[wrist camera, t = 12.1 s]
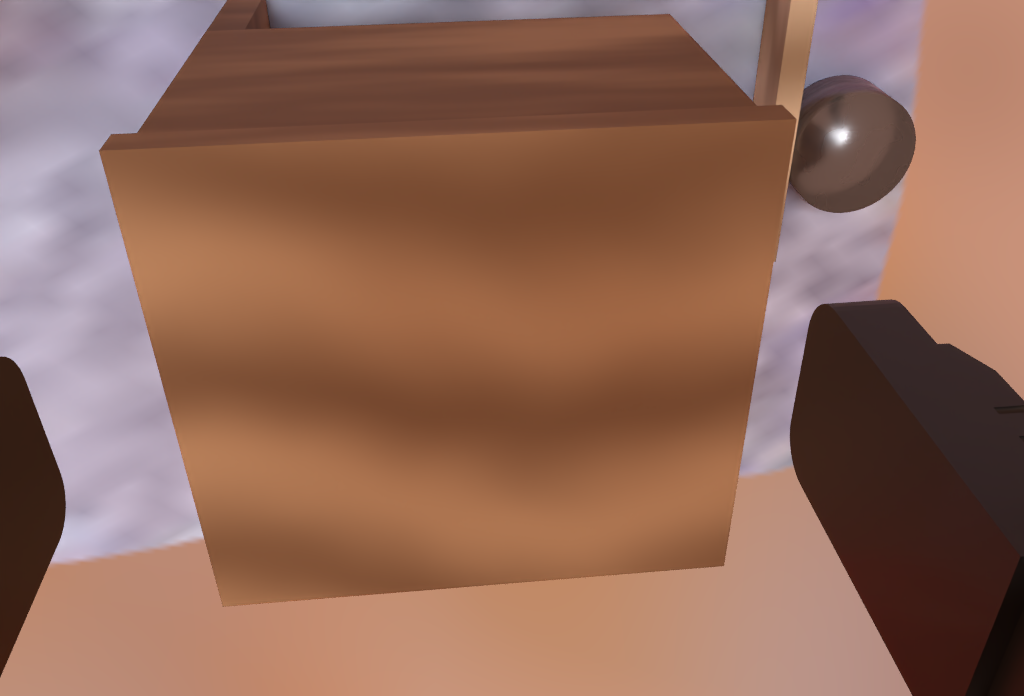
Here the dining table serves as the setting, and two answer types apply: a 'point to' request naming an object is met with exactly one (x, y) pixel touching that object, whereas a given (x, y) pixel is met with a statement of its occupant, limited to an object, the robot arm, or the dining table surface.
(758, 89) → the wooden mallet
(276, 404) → the bread box
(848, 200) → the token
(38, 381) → the dining table surface
